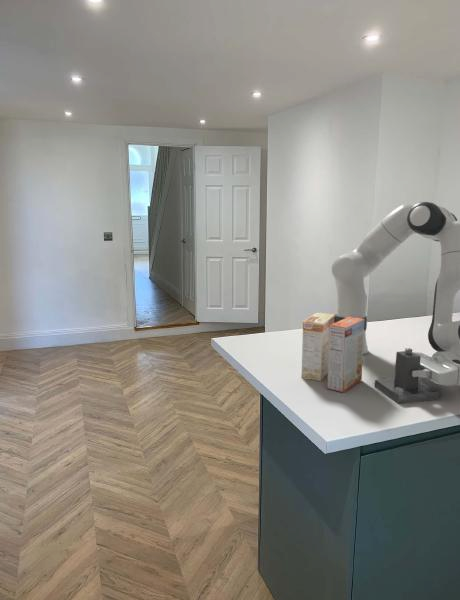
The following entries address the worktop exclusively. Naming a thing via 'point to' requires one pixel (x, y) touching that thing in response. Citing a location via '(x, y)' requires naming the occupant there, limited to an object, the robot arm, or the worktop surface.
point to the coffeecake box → (316, 346)
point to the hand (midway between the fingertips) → (404, 369)
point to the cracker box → (345, 353)
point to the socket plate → (406, 391)
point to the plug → (406, 369)
